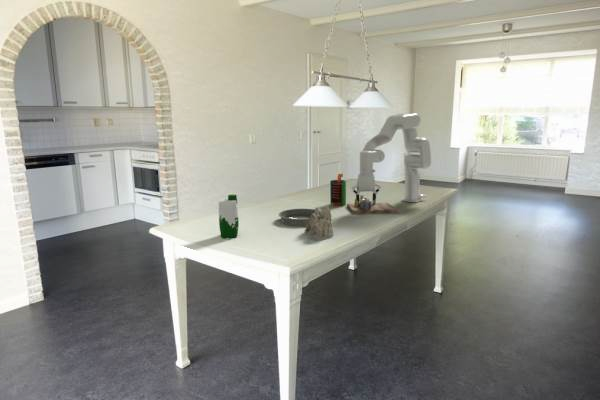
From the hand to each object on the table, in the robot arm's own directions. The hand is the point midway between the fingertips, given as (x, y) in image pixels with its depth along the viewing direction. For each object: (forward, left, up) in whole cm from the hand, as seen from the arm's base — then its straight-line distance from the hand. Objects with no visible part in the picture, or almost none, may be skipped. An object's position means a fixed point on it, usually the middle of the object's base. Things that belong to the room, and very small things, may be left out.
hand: (366, 200), depth 244 cm
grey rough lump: (+35, +45, -7) cm, 58 cm away
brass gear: (0, -8, -5) cm, 10 cm away
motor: (+12, -23, -7) cm, 27 cm away
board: (-5, -5, -7) cm, 9 cm away
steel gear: (0, 0, -5) cm, 5 cm away
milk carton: (+77, +41, -7) cm, 88 cm away
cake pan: (+40, +16, -7) cm, 44 cm away
